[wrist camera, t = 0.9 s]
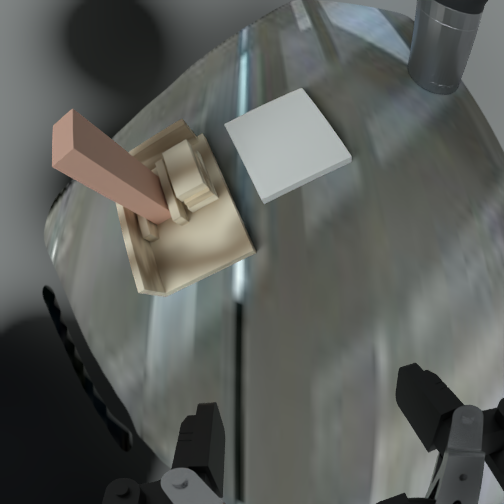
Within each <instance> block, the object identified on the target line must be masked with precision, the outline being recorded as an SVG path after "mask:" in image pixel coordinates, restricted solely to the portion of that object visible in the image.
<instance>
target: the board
mask: <svg viewBox="0 0 504 504" xmlns="http://www.w3.org/2000/svg"><path fill="white" fill-rule="evenodd" d="M52 167H53V168H55V169H57V170H59V171H60V172H62V173H64V174H66V175H67V176H69V177H71V178H73V179H75V180H76V181H78V182H80V183H82V184H84V185H85V186H87V187H89V188H91V189H93V190H94V191H96V192H98V193H100V194H102V195H103V196H105V197H107V198H109V199H111V200H113V201H114V202H116V203H118V204H120V205H122V206H124V207H125V208H127V209H129V210H131V211H133V212H135V213H136V214H138V215H140V216H142V217H144V218H146V219H148V220H149V221H151V222H153V223H155V224H157V225H159V224H161V223H163V222H164V221H166V220H168V219H169V218H171V214H170V211H169V207H168V204H167V201H166V198H165V195H164V191H163V188H162V185H161V182H160V178H159V177H158V176H157V175H156V174H155V173H153V172H152V171H151V170H150V169H148V168H147V167H146V166H145V165H143V164H142V163H141V162H139V161H138V160H137V159H136V158H134V157H133V156H132V155H131V154H129V153H128V152H127V151H126V150H124V149H123V148H122V147H121V146H119V145H118V144H117V143H116V142H114V141H113V140H112V139H111V138H109V137H108V136H107V135H105V134H104V133H103V132H102V131H100V130H99V129H98V128H97V127H95V126H94V125H93V124H91V123H90V122H89V121H88V120H87V119H85V118H84V117H83V116H81V115H80V114H79V113H78V112H76V111H75V110H74V109H72V110H70V111H69V112H68V113H67V114H66V115H65V116H64V117H62V118H61V119H60V120H59V121H58V122H57V123H56V124H55V125H53V142H52Z"/></svg>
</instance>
